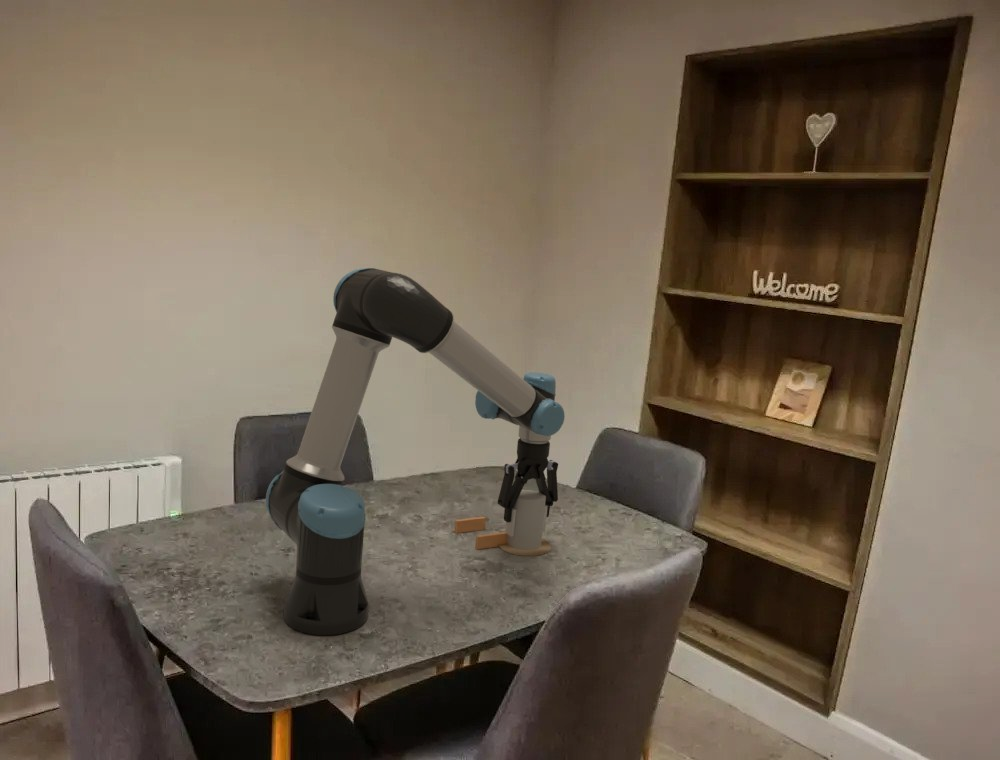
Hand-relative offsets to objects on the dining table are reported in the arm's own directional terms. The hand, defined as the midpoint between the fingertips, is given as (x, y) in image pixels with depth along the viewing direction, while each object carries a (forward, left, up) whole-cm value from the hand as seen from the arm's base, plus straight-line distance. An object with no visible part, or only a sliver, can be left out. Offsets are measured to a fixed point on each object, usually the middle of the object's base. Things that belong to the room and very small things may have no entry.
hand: (525, 532), depth 185 cm
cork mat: (0, 0, -3) cm, 3 cm away
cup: (0, 0, -3) cm, 3 cm away
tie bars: (+7, +8, -3) cm, 11 cm away
